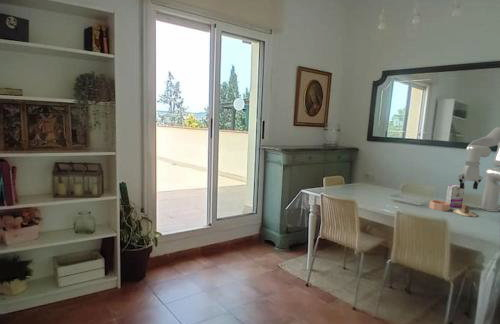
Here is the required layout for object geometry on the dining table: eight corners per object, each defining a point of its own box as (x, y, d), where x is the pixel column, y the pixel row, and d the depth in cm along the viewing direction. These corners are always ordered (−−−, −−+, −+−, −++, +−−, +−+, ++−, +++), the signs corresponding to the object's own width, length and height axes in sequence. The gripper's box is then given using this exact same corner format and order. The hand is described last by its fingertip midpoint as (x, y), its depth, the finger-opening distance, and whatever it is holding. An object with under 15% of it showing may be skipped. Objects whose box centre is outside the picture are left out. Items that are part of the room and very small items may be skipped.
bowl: (441, 206, 240) (442, 200, 239) (452, 211, 228) (453, 204, 228) (426, 206, 239) (427, 199, 239) (436, 211, 228) (437, 204, 227)
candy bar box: (456, 205, 246) (459, 184, 244) (461, 207, 242) (465, 186, 239) (444, 205, 243) (447, 184, 241) (450, 207, 239) (453, 186, 236)
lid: (466, 210, 231) (468, 202, 230) (481, 217, 217) (483, 208, 216) (448, 210, 230) (449, 202, 229) (462, 216, 216) (463, 208, 215)
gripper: (480, 163, 223) (476, 187, 225) (456, 162, 222) (452, 186, 224) (488, 165, 215) (484, 190, 218) (464, 164, 214) (460, 189, 217)
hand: (468, 188), depth 221 cm, fingers open, 9 cm apart
